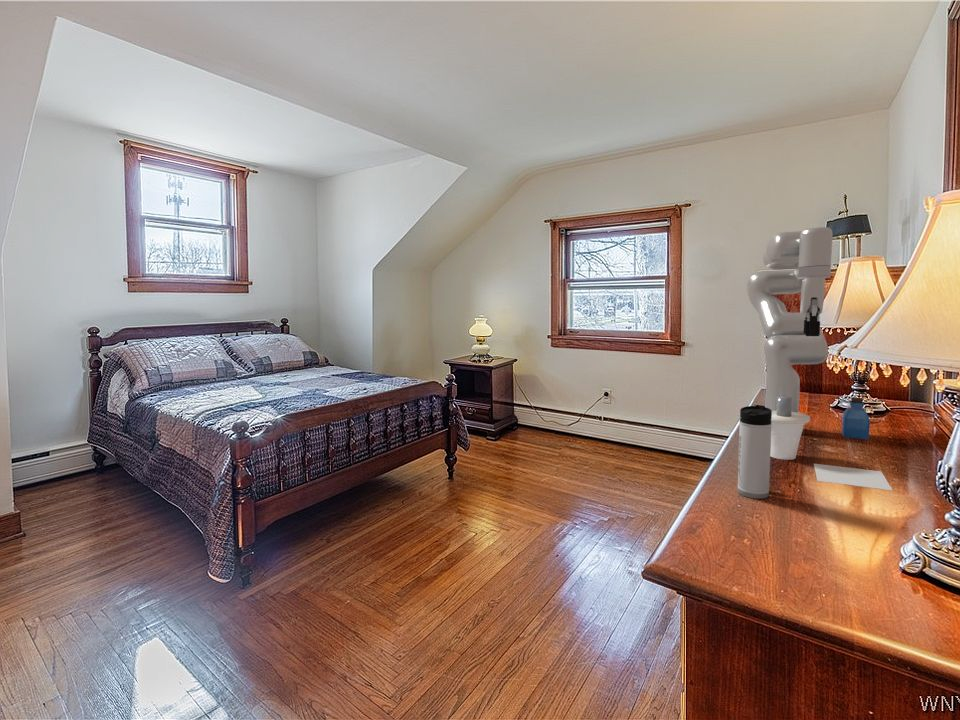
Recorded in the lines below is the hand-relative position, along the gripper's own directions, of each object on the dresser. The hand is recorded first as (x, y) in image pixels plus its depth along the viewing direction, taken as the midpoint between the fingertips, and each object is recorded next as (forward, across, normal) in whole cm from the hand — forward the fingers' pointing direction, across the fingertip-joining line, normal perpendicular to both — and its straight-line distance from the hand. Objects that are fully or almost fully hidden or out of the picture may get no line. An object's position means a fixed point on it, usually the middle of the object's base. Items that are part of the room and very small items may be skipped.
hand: (811, 334), depth 140 cm
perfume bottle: (+34, -23, +14) cm, 43 cm away
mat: (+33, +22, +8) cm, 41 cm away
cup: (+34, +11, -6) cm, 36 cm away
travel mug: (+34, +43, -12) cm, 56 cm away
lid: (+22, +11, -6) cm, 26 cm away
